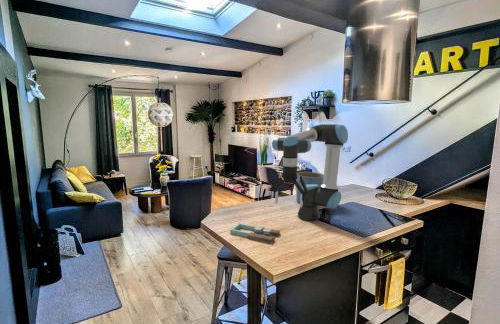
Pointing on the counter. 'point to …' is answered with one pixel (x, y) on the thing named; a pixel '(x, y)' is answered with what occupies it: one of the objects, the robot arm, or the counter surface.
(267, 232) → the grey wood-grain cube
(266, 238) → the slot board
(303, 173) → the planter
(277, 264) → the counter surface
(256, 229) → the grey cube-shaped block
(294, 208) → the counter surface
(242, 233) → the tray
